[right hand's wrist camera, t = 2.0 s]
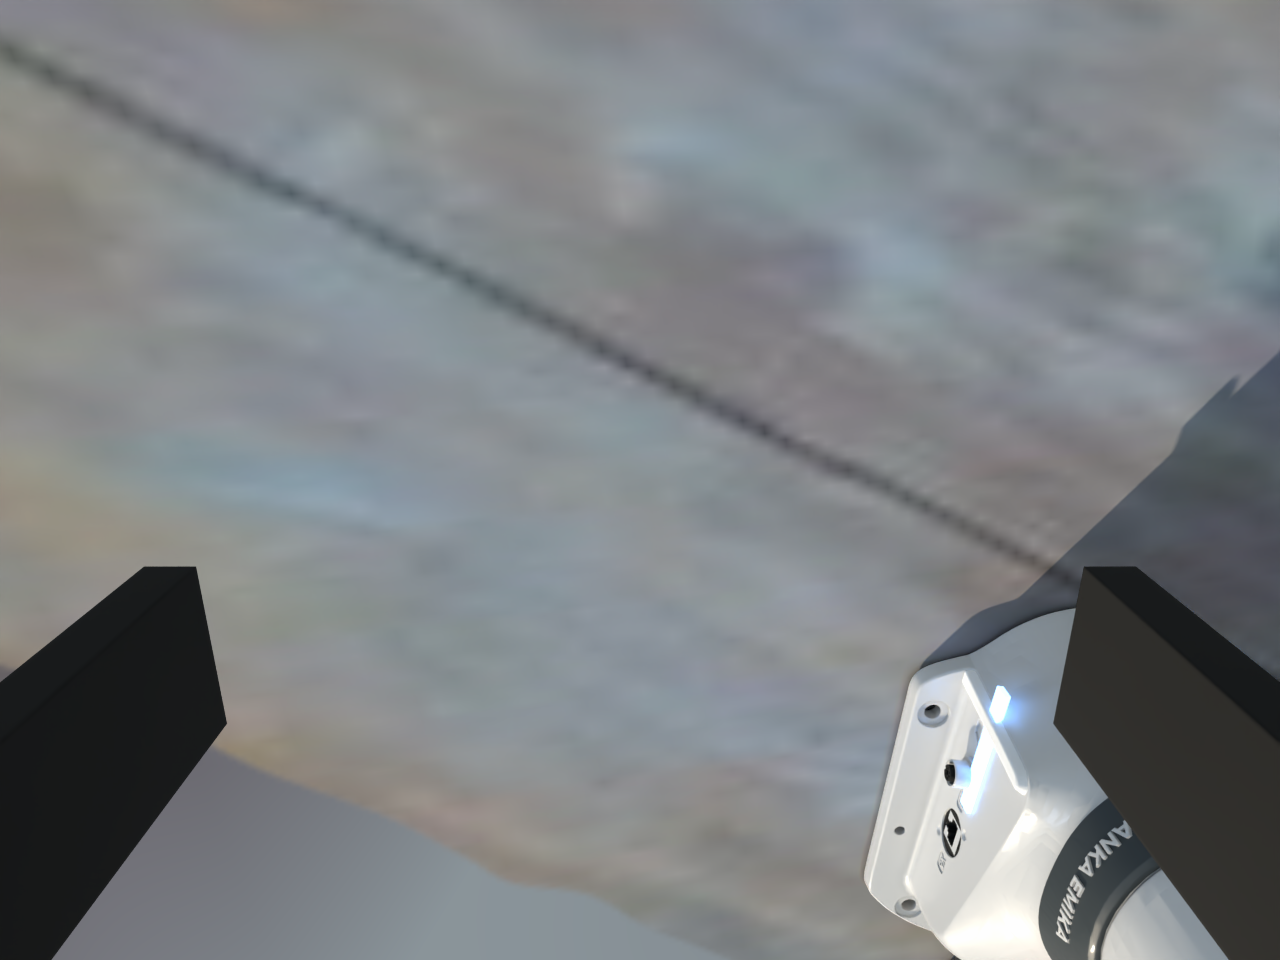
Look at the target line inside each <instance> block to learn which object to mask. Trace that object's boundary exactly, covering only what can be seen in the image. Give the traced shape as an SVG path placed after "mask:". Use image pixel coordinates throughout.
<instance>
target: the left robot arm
mask: <svg viewBox="0 0 1280 960" xmlns="http://www.w3.org/2000/svg"><path fill="white" fill-rule="evenodd" d="M1075 610H1076V608H1073V609H1067V610H1062V611H1058V612H1054V613H1050V614H1046V615H1043V616H1040V617H1038V618H1035V619H1032V620H1030V621H1028V622H1025V623H1023V624H1021V625H1019V626H1017V627H1015V628H1013V629H1011V630H1010V631H1008V632H1006V633H1004V634H1003V635H1001V636H1000V637H998V638H997V639H995V640H994V641H992V642H990V643H989V644H987V645H986V646H984V647H982V648H981V649H979V650H977V651H975V652H973V653H971V654H969V655H964V656H960V657H956V658H952V659H948V660H944V661H940V662H937V663H934V664H931V665H928V666H926V667H924V668H922V669H921V670H919V671H918V672H917V673H916V674H915V675H914V676H913V677H912V679H911V681H910V684H909V688H908V692H907V696H906V700H905V704H904V708H903V712H902V717H901V721H900V725H899V729H898V733H897V737H896V742H895V746H894V750H893V754H892V758H891V762H890V766H889V771H888V775H887V779H886V783H885V787H884V791H883V796H882V800H881V804H880V808H879V812H878V816H877V821H876V825H875V829H874V833H873V837H872V841H871V845H870V850H869V854H868V858H867V862H866V867H865V872H864V880H865V883H866V885H867V887H868V889H869V891H870V893H871V894H872V895H873V896H874V898H875V899H876V900H877V901H878V902H880V903H881V904H882V905H883V906H884V907H885V908H887V909H888V910H889V911H891V912H892V913H894V914H895V915H897V916H899V917H901V918H902V919H904V920H906V921H908V922H910V923H912V924H915V925H917V926H919V927H922V928H924V929H927V930H930V931H932V932H933V933H934V934H935V936H936V937H937V939H938V940H939V941H940V942H941V943H942V944H943V945H944V946H945V948H947V949H948V950H949V951H950V952H951V953H952V954H954V955H955V958H954V960H1228V958H1227V957H1226V956H1225V954H1224V953H1223V952H1222V950H1221V949H1220V947H1219V946H1218V945H1217V943H1216V942H1215V941H1214V939H1213V938H1212V937H1211V935H1210V934H1209V933H1208V931H1207V930H1206V929H1205V927H1204V926H1203V925H1202V923H1201V922H1200V921H1199V919H1198V918H1197V917H1196V915H1195V914H1194V913H1193V911H1192V910H1191V908H1190V907H1189V906H1188V904H1187V903H1186V902H1185V900H1184V899H1183V898H1182V896H1181V895H1180V894H1179V892H1178V891H1177V890H1176V888H1175V887H1174V886H1173V884H1172V883H1171V882H1170V880H1169V879H1168V878H1167V876H1166V875H1165V873H1164V872H1163V871H1162V869H1161V868H1160V867H1159V865H1158V864H1157V863H1156V861H1155V860H1154V859H1153V857H1152V856H1151V855H1150V853H1149V852H1148V851H1147V849H1146V848H1145V847H1144V845H1143V844H1142V843H1141V841H1140V840H1139V839H1138V837H1137V836H1136V834H1135V833H1134V832H1133V830H1132V829H1131V828H1130V826H1129V825H1128V824H1127V822H1126V821H1125V820H1124V818H1123V817H1122V816H1121V814H1120V813H1119V812H1118V810H1117V809H1116V808H1115V806H1114V805H1113V804H1112V802H1111V801H1110V800H1109V798H1108V797H1107V795H1106V794H1105V793H1104V791H1103V790H1102V789H1101V787H1100V786H1099V785H1098V783H1097V782H1096V781H1095V779H1094V778H1093V777H1092V775H1091V774H1090V773H1089V771H1088V770H1087V769H1086V767H1085V766H1084V765H1083V763H1082V762H1081V761H1080V759H1079V758H1078V756H1077V755H1076V754H1075V752H1074V751H1073V750H1072V748H1071V747H1070V746H1069V744H1068V743H1067V742H1066V740H1065V739H1064V738H1063V736H1062V735H1061V734H1060V732H1059V731H1058V730H1057V728H1056V727H1055V726H1054V724H1053V722H1054V716H1055V711H1056V706H1057V701H1058V696H1059V691H1060V686H1061V681H1062V676H1063V671H1064V666H1065V661H1066V656H1067V650H1068V645H1069V640H1070V635H1071V630H1072V625H1073V620H1074V615H1075ZM930 705H936V706H935V707H934V708H933V709H931V710H925V709H926V708H927V707H928V706H930ZM908 899H909V900H908Z"/></svg>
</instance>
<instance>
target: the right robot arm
mask: <svg viewBox="0 0 1280 960" xmlns="http://www.w3.org/2000/svg"><path fill="white" fill-rule="evenodd" d="M226 724H227V722H226V716H225V711H224V706H223V701H222V696H221V691H220V686H219V681H218V676H217V671H216V666H215V661H214V656H213V650H212V645H211V640H210V635H209V630H208V625H207V620H206V615H205V610H204V605H203V600H202V595H201V590H200V585H199V579H198V574H197V569H196V567H143V568H142V569H141V570H139V571H138V572H137V573H136V574H134V575H133V576H132V577H131V578H129V579H128V580H127V581H126V582H124V583H123V584H122V585H121V586H119V587H118V588H117V589H116V590H115V591H113V592H112V593H111V594H110V595H108V596H107V597H106V598H105V599H103V600H102V601H101V602H100V603H98V604H97V605H96V606H95V607H93V608H92V609H91V610H90V611H88V612H87V613H86V614H85V615H83V616H82V617H81V618H80V619H78V620H77V621H76V622H75V623H73V624H72V625H71V626H70V627H68V628H67V629H66V630H65V631H64V632H62V633H61V634H60V635H59V636H57V637H56V638H55V639H54V640H52V641H51V642H50V643H49V644H47V645H46V646H45V647H44V648H42V649H41V650H40V651H39V652H37V653H36V654H35V655H34V656H32V657H31V658H30V659H29V660H27V661H26V662H25V663H24V664H22V665H21V666H20V667H19V668H17V669H16V670H15V671H14V672H13V673H11V674H10V675H9V676H8V677H6V678H5V679H4V680H3V681H1V682H0V960H52V958H53V957H54V956H55V954H56V953H57V952H58V950H59V949H60V947H61V946H62V945H63V943H64V942H65V941H66V939H67V938H68V937H69V935H70V934H71V933H72V931H73V930H74V929H75V927H76V926H77V925H78V923H79V922H80V921H81V919H82V918H83V916H84V915H85V914H86V913H87V911H88V910H89V908H90V907H91V906H92V904H93V903H94V902H95V900H96V899H97V898H98V896H99V895H100V894H101V892H102V891H103V890H104V888H105V887H106V886H107V884H108V883H109V881H110V880H111V879H112V878H113V876H114V875H115V873H116V872H117V871H118V869H119V868H120V867H121V865H122V864H123V863H124V861H125V860H126V859H127V857H128V856H129V855H130V853H131V852H132V851H133V849H134V848H135V847H136V845H137V844H138V842H139V841H140V840H141V838H142V837H143V836H144V834H145V833H146V832H147V830H148V829H149V828H150V826H151V825H152V824H153V822H154V821H155V820H156V818H157V817H158V816H159V814H160V813H161V812H162V810H163V809H164V808H165V806H166V805H167V804H168V802H169V801H170V799H171V798H172V797H173V795H174V794H175V793H176V791H177V790H178V789H179V787H180V786H181V785H182V783H183V782H184V781H185V779H186V778H187V777H188V775H189V774H190V773H191V771H192V770H193V769H194V767H195V766H196V765H197V763H198V762H199V761H200V759H201V758H202V756H203V755H204V754H205V752H206V751H207V750H208V748H209V747H210V746H211V744H212V743H213V742H214V740H215V739H216V738H217V736H218V735H219V734H220V732H221V731H222V730H223V728H224V727H225V726H226ZM1053 724H1054V726H1055V727H1056V728H1057V730H1058V731H1059V732H1060V734H1061V735H1062V736H1063V738H1064V739H1065V740H1066V742H1067V743H1068V744H1069V746H1070V747H1071V748H1072V750H1073V751H1074V752H1075V754H1076V755H1077V756H1078V758H1079V759H1080V761H1081V762H1082V763H1083V765H1084V766H1085V767H1086V769H1087V770H1088V771H1089V773H1090V774H1091V775H1092V777H1093V778H1094V779H1095V781H1096V782H1097V783H1098V785H1099V786H1100V787H1101V789H1102V790H1103V791H1104V793H1105V794H1106V795H1107V797H1108V798H1109V800H1110V801H1111V802H1112V804H1113V805H1114V806H1115V808H1116V809H1117V810H1118V812H1119V813H1120V814H1121V816H1122V817H1123V818H1124V820H1125V821H1126V822H1127V824H1128V825H1129V826H1130V828H1131V829H1132V830H1133V832H1134V833H1135V834H1136V836H1137V837H1138V839H1139V840H1140V841H1141V843H1142V844H1143V845H1144V847H1145V848H1146V849H1147V851H1148V852H1149V853H1150V855H1151V856H1152V857H1153V859H1154V860H1155V861H1156V863H1157V864H1158V865H1159V867H1160V868H1161V869H1162V871H1163V872H1164V873H1165V875H1166V876H1167V878H1168V879H1169V880H1170V882H1171V883H1172V884H1173V886H1174V887H1175V888H1176V890H1177V891H1178V892H1179V894H1180V895H1181V896H1182V898H1183V899H1184V900H1185V902H1186V903H1187V904H1188V906H1189V907H1190V908H1191V910H1192V911H1193V913H1194V914H1195V915H1196V917H1197V918H1198V919H1199V921H1200V922H1201V923H1202V925H1203V926H1204V927H1205V929H1206V930H1207V931H1208V933H1209V934H1210V935H1211V937H1212V938H1213V939H1214V941H1215V942H1216V943H1217V945H1218V946H1219V947H1220V949H1221V950H1222V952H1223V953H1224V954H1225V956H1226V957H1227V958H1228V960H1280V682H1279V681H1277V680H1276V679H1275V678H1274V677H1272V676H1271V675H1270V674H1269V673H1267V672H1266V671H1265V670H1264V669H1263V668H1261V667H1260V666H1259V665H1258V664H1256V663H1255V662H1254V661H1253V660H1251V659H1250V658H1249V657H1248V656H1246V655H1245V654H1244V653H1243V652H1241V651H1240V650H1239V649H1238V648H1236V647H1235V646H1234V645H1233V644H1231V643H1230V642H1229V641H1228V640H1226V639H1225V638H1224V637H1223V636H1221V635H1220V634H1219V633H1218V632H1216V631H1215V630H1214V629H1213V628H1212V627H1210V626H1209V625H1208V624H1207V623H1205V622H1204V621H1203V620H1202V619H1200V618H1199V617H1198V616H1197V615H1195V614H1194V613H1193V612H1192V611H1190V610H1189V609H1188V608H1187V607H1185V606H1184V605H1183V604H1182V603H1180V602H1179V601H1178V600H1177V599H1175V598H1174V597H1173V596H1172V595H1170V594H1169V593H1168V592H1167V591H1165V590H1164V589H1163V588H1162V587H1161V586H1159V585H1158V584H1157V583H1156V582H1154V581H1153V580H1152V579H1151V578H1149V577H1148V576H1147V575H1146V574H1144V573H1143V572H1142V571H1141V570H1139V569H1138V568H1137V567H1084V569H1083V574H1082V579H1081V585H1080V590H1079V595H1078V600H1077V605H1076V610H1075V615H1074V620H1073V625H1072V630H1071V635H1070V640H1069V645H1068V650H1067V656H1066V661H1065V666H1064V671H1063V676H1062V681H1061V686H1060V691H1059V696H1058V701H1057V706H1056V711H1055V716H1054V722H1053Z"/></svg>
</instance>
